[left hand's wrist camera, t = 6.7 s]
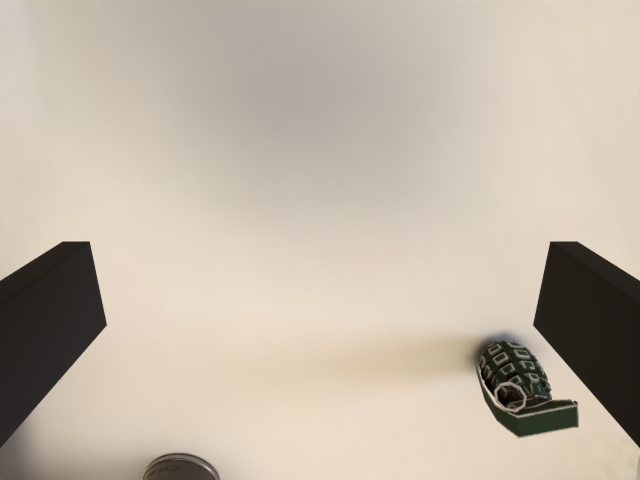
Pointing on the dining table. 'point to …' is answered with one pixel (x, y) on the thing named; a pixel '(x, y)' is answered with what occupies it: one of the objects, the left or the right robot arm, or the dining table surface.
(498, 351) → the grenade
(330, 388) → the dining table surface
